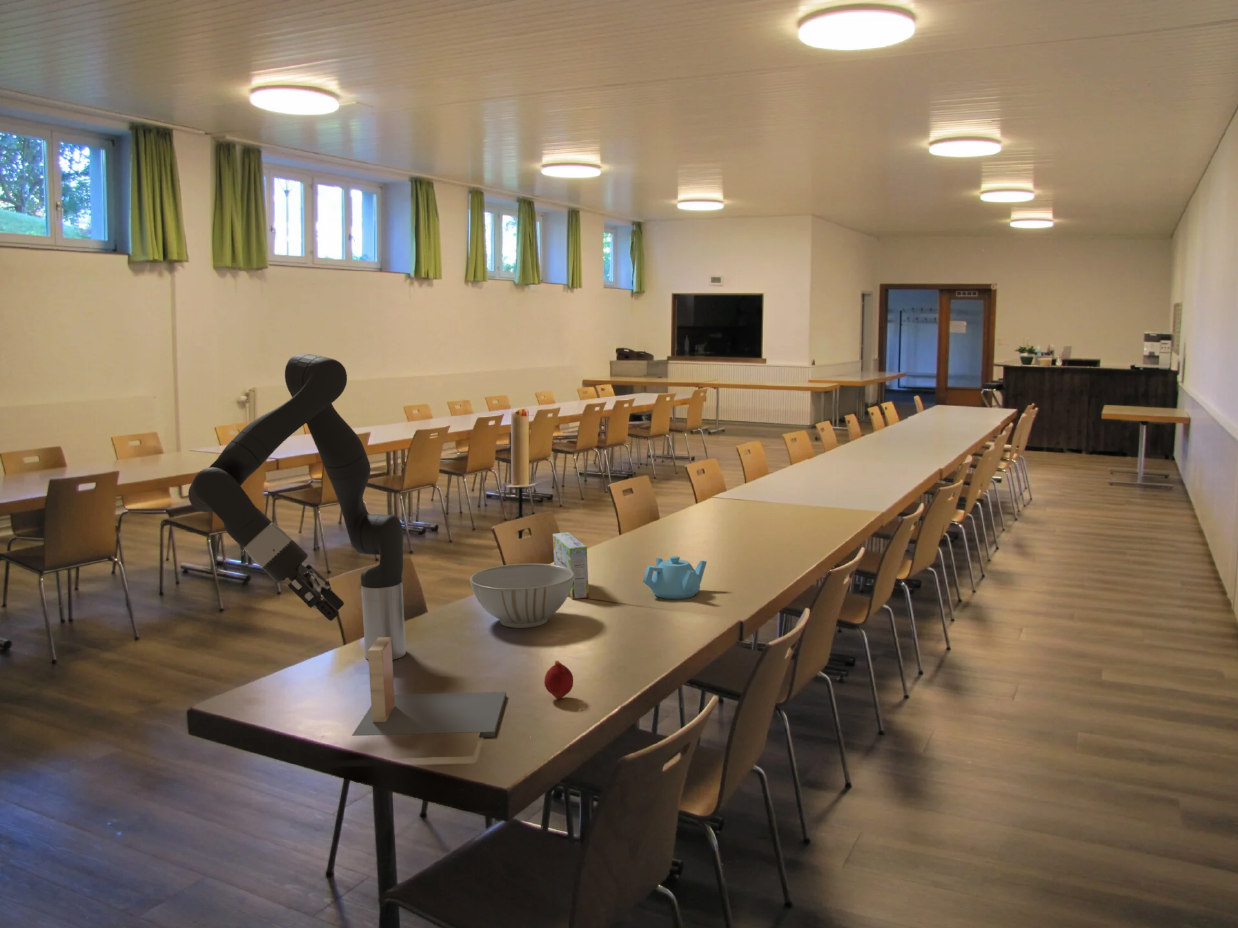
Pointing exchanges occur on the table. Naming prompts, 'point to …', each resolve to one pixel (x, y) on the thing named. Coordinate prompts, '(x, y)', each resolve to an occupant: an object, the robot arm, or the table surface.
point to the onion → (558, 680)
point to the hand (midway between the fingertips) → (338, 612)
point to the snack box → (572, 562)
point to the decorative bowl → (522, 592)
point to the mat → (439, 714)
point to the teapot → (674, 578)
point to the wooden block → (381, 679)
